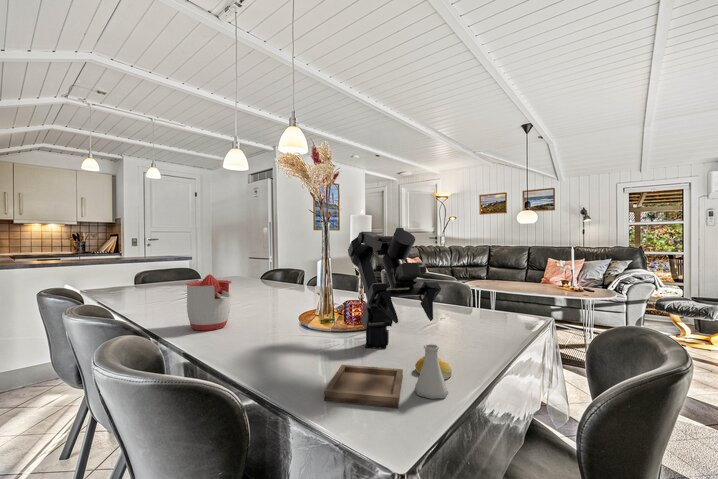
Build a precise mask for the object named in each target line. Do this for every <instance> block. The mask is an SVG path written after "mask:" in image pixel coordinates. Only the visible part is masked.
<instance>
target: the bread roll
mask: <svg viewBox="0 0 718 479" xmlns="http://www.w3.org/2000/svg"><path fill="white" fill-rule="evenodd" d="M424 359H425V355H424V356H423V357H421V358H419V359H418V360H417V361H416V363H415V370H416V372H417V373H418V374H419V375H420V372H421V369H422V367H423V364H424ZM438 361H439V366H440V369H441V372H442V375H443V378H444V381H445V380H447V379H449V378H450V377H451V376H452V372H453V370H452V367H451V365H450V363H447V362H446V361H443V360H442V359H440V357H438Z"/></svg>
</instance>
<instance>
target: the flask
mask: <svg viewBox="0 0 718 479" xmlns="http://www.w3.org/2000/svg"><path fill="white" fill-rule="evenodd" d="M423 348H424V352H425V353H424V356H425V359H424V364H423V367H422V369H421V372H420V374H419V376H418V378H417V381H416V382H415V385H414V392H415V393H416V394H417V396H419V397H422V398H423V397H424V398H427V399H430V400H432V399H445V398H446V397H447V396H448V394H449V390H448V386H447V384H446V381H445V380H444V378H443V375H442V372H441V369H440V366H439V361H438V358H439V356H438V354H439V352H438V351H439V349H440V346H439V345H437V344H434V343H425V344H424V345H423Z"/></svg>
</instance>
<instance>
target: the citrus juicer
mask: <svg viewBox="0 0 718 479" xmlns="http://www.w3.org/2000/svg"><path fill="white" fill-rule="evenodd" d="M231 300H232V281H231V280H227V279H226V280H225V279H223V280H221V279H219V280H218V279H216V278H215V276H213V275H212V274H207V275H206V276H205V277H204V278H203V279H202V280H197V281H194V280H193V281H190V282H187V283H186V313H187V317H188V320H189V324H190V326H191V329H193V330H195V331H204V332H208V331H211V330H217V329H221V328H224V327H225V326H227V324H228V320H229V316H230V313H231V305H232V304H231V303H232V302H231Z"/></svg>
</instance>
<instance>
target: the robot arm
mask: <svg viewBox="0 0 718 479" xmlns="http://www.w3.org/2000/svg"><path fill="white" fill-rule="evenodd" d="M415 242H416V237H415V236H414V235H413V234H412V233H411V232H410V231H407V230H405V229H404V227H396V228H395V230H394V232H393V235H379V234H377V233H375V232H373V231H361V232H359V233H358V235H357V237H355V238H354V239H353V240H351V241H350V244H349V245H348V246H349V247H348V249H347V250H348V251H347V253H348V254H347V255H348V257H349V258H350V260H351V263H352V264H353V265H355V267H357V268H358V272H359V275H360V278H361V282H362V287H363V290H364V293H365V297H366V304H365V307H364V311H363V313H362V315H361V318H360V320H361V326H363V327H364V328H365V345H364V348H369V349H380V350H381V349H382V350H384V349H386V348H387V346H388V345H389V342H390V340H389V339H390V336H389V335H390V331H389V329H388V327H392V326H393V322H394V324H398V323H399V317H398V314H397V311H396V309H395V307H394V303H393V300H392V297H418V300H419V301H421V302H420V303H419V304H420V306H421V308H422V309H423V311H424V314H425V315H426V317H427V318H428V320H429V321H430V322H431V321H433V320H434V301H435V300H436V298H437V297H438V296H439V294H440V293H441V290H442V286H441V285H440V283H439V281H435V280H434V281H423V283H422V285H421V286H420V287H414V285H416V284H417V283H418V281H417V278H419V277H421V276H424V275H425V274H426V273H427V267H426V266H427V265H426V264H425V262H424V261H421V260H420V261H416V262H405V260H406V259H408V258H409V255H410V253H411V251H412V248H413V247H414V244H415ZM374 254H375V256H379V257H380V256H382V259H381V263H382V264H381V267H380V269H381V270H384V272H385V275H386V277H387V278H386V281H385V282H378V280H377V277H376V274H375V271H374V268H373V265H372V259H373V256H374ZM388 285H389V286H390V287H389V286H388Z"/></svg>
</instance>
